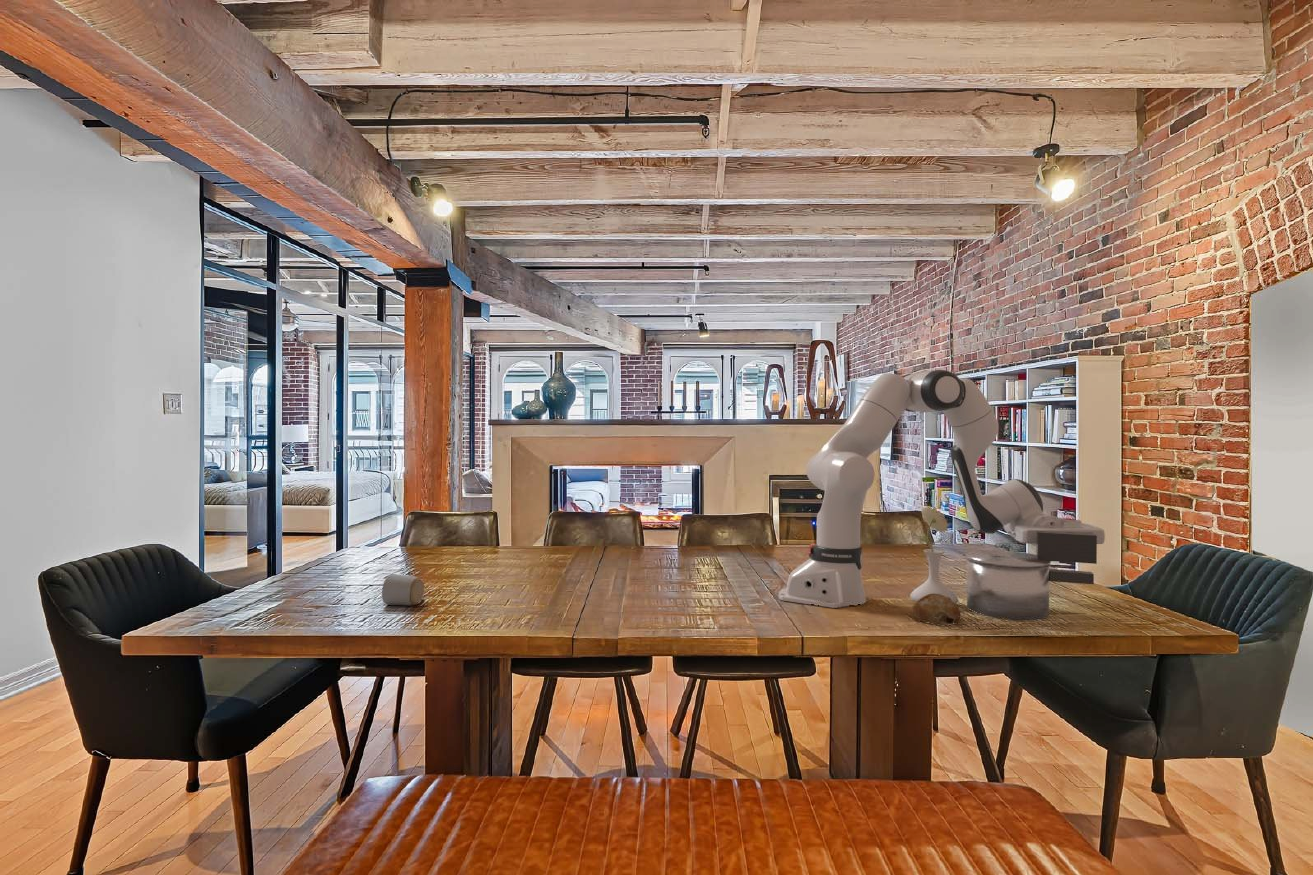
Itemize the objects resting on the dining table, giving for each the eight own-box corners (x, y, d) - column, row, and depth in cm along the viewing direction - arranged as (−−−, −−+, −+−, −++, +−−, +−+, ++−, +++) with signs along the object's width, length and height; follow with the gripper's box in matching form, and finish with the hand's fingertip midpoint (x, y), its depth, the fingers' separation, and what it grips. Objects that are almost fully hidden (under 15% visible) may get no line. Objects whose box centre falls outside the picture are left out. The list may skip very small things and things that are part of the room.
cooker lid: (966, 564, 161) (966, 532, 161) (965, 551, 178) (965, 523, 178) (1103, 574, 150) (1103, 540, 150) (1088, 560, 167) (1088, 529, 167)
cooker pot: (968, 615, 161) (969, 565, 161) (964, 598, 178) (965, 553, 178) (1101, 628, 151) (1101, 574, 151) (1083, 608, 168) (1084, 560, 167)
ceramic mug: (412, 608, 166) (412, 577, 166) (380, 607, 167) (381, 576, 167) (431, 599, 177) (431, 570, 177) (401, 598, 178) (401, 569, 178)
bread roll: (926, 641, 153) (936, 613, 150) (900, 611, 162) (910, 584, 159) (962, 637, 156) (973, 610, 153) (935, 608, 165) (945, 582, 161)
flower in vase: (966, 610, 166) (966, 509, 165) (919, 610, 166) (920, 509, 166) (944, 597, 179) (944, 504, 178) (901, 597, 179) (901, 503, 179)
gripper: (1004, 519, 176) (1032, 526, 163) (1084, 519, 176) (1119, 527, 162) (1004, 543, 176) (1032, 552, 163) (1084, 543, 176) (1118, 553, 162)
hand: (1076, 539), depth 162 cm, fingers closed
